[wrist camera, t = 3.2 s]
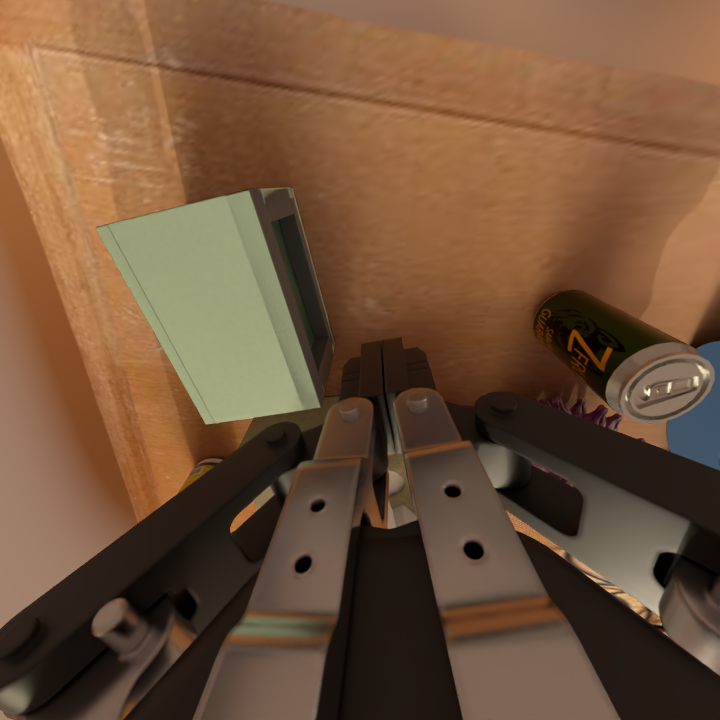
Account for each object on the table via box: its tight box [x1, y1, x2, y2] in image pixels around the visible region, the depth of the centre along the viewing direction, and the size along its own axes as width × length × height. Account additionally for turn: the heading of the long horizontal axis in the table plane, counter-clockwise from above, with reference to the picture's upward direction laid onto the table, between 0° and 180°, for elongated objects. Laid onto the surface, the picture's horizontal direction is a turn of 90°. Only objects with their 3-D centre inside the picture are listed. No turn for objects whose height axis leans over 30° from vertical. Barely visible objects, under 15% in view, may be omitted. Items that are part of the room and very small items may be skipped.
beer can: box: [533, 290, 715, 424], centre depth 24 cm, size 5×5×12 cm
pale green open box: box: [96, 187, 335, 424], centre depth 24 cm, size 14×9×10 cm, turn 12°
